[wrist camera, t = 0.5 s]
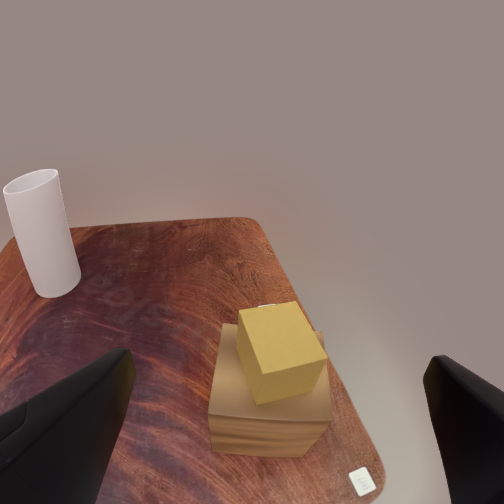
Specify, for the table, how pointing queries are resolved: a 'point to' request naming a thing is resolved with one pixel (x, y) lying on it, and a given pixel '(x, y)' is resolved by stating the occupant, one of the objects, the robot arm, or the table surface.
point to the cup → (43, 232)
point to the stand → (262, 410)
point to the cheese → (278, 352)
